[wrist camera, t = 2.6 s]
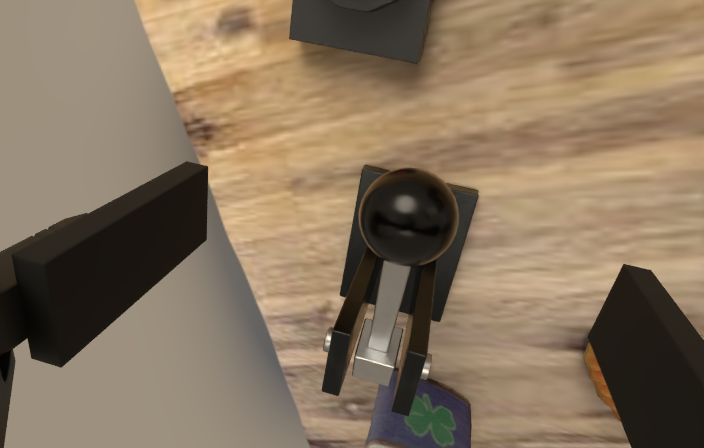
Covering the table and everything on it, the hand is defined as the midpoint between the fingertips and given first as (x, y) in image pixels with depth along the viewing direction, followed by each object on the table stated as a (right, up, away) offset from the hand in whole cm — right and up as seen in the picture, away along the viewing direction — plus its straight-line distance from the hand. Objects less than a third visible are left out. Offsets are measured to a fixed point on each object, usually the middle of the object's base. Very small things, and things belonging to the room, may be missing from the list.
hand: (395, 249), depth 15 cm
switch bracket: (+3, -1, +24) cm, 24 cm away
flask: (+6, -15, +30) cm, 34 cm away
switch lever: (+1, -1, +8) cm, 8 cm away
